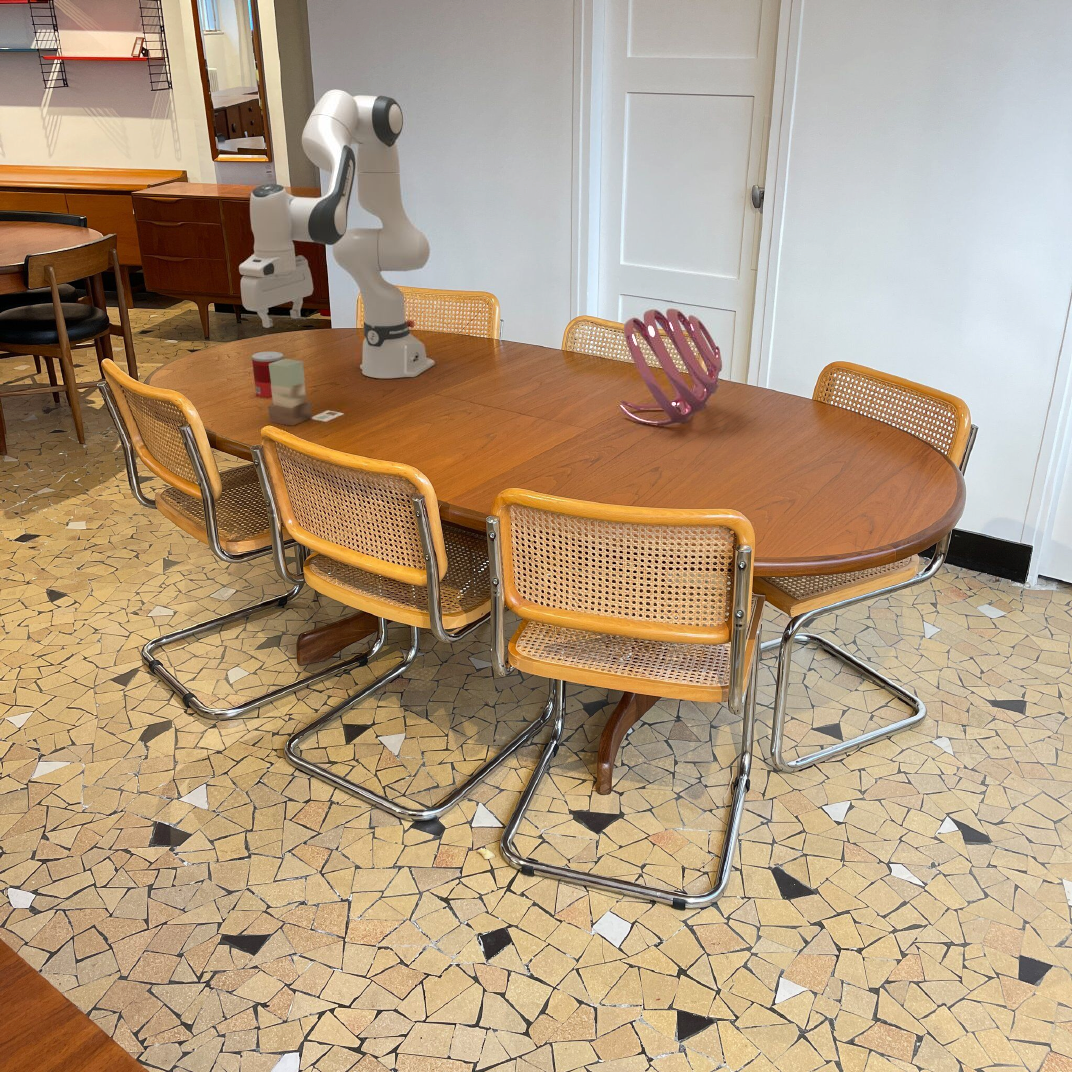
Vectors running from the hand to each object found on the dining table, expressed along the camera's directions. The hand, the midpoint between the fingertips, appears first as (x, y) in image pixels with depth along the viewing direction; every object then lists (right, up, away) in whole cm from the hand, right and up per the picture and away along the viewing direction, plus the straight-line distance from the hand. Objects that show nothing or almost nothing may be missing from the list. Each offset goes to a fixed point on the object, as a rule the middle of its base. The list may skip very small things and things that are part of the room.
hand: (282, 322), depth 232 cm
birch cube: (0, -18, +7) cm, 19 cm away
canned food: (-10, -14, +28) cm, 33 cm away
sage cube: (0, -13, +4) cm, 14 cm away
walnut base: (0, -22, +8) cm, 23 cm away
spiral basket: (+91, -21, +14) cm, 95 cm away
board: (+1, -22, +10) cm, 24 cm away
